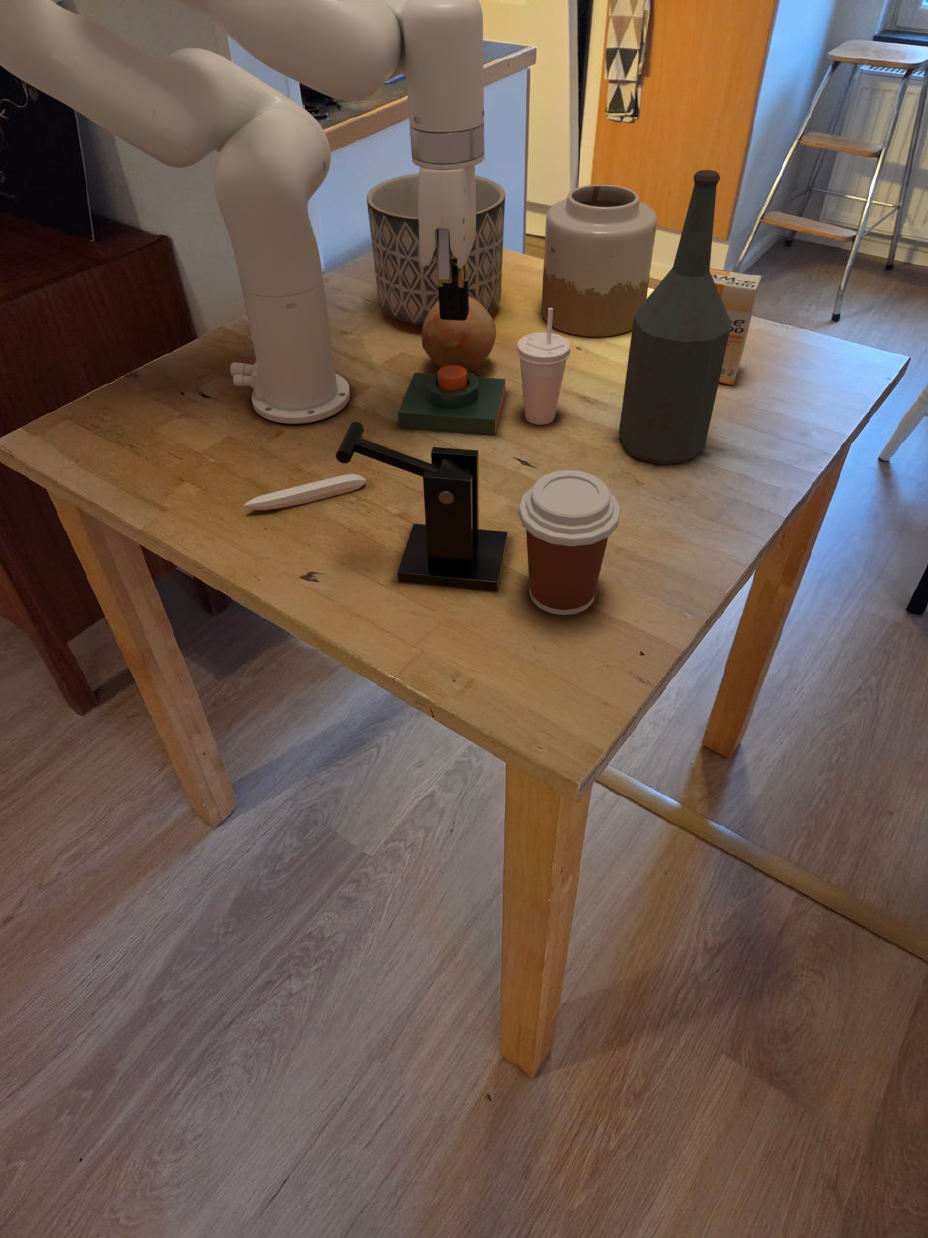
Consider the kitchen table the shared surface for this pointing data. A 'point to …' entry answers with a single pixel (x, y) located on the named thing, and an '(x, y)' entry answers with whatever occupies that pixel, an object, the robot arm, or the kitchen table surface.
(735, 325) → the supplement box
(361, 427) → the lever
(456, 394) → the button block
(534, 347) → the smoothie
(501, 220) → the planter
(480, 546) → the bracket
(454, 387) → the button
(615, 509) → the coffee cup
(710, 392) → the bottle
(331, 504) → the kitchen table surface
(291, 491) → the pen
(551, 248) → the vase
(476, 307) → the onion
